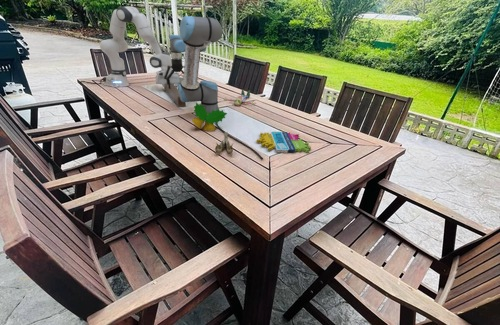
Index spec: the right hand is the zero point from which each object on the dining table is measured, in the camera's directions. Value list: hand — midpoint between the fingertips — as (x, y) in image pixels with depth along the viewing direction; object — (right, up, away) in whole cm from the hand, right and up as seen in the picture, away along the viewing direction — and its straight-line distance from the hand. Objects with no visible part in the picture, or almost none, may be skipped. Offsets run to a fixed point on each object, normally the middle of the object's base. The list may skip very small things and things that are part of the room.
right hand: (178, 88), depth 199 cm
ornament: (+29, -35, -34) cm, 57 cm away
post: (-10, -2, +20) cm, 23 cm away
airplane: (-12, +24, +67) cm, 72 cm away
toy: (+47, -5, +22) cm, 52 cm away
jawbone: (+41, -51, -61) cm, 89 cm away
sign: (+73, -45, -47) cm, 98 cm away
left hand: (-18, +9, +34) cm, 39 cm away
